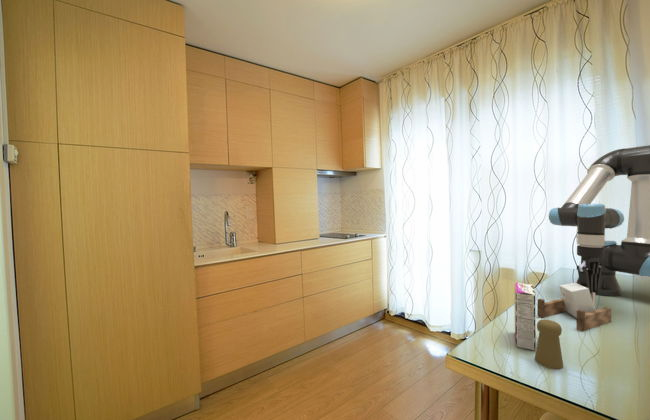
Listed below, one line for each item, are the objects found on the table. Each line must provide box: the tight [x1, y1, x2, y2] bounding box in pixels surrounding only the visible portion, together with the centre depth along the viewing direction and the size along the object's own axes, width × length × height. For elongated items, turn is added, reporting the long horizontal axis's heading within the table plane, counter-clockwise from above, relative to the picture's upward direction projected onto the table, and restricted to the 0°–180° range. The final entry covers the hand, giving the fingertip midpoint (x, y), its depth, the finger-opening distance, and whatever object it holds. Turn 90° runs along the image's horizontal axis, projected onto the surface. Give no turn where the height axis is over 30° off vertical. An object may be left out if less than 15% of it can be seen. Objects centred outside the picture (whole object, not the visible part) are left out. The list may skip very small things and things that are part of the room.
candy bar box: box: [514, 282, 537, 352], centre depth 88 cm, size 11×5×16 cm, turn 148°
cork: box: [534, 319, 564, 370], centre depth 77 cm, size 6×6×11 cm
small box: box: [558, 282, 596, 319], centre depth 106 cm, size 8×6×10 cm
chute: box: [536, 297, 612, 332], centre depth 104 cm, size 18×14×6 cm
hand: (589, 309), depth 108 cm, fingers closed
